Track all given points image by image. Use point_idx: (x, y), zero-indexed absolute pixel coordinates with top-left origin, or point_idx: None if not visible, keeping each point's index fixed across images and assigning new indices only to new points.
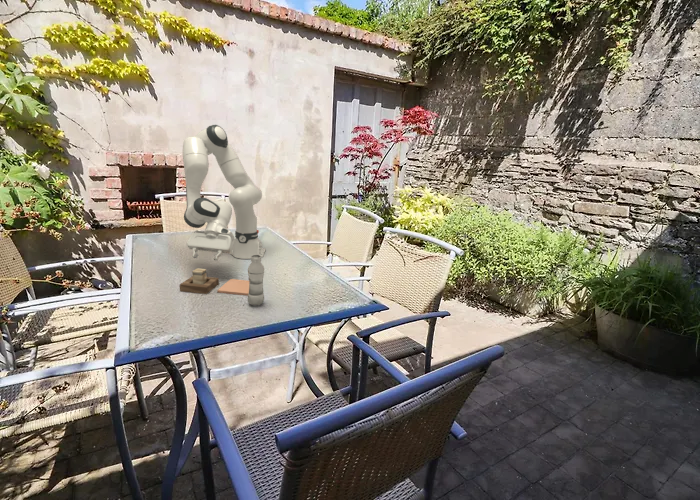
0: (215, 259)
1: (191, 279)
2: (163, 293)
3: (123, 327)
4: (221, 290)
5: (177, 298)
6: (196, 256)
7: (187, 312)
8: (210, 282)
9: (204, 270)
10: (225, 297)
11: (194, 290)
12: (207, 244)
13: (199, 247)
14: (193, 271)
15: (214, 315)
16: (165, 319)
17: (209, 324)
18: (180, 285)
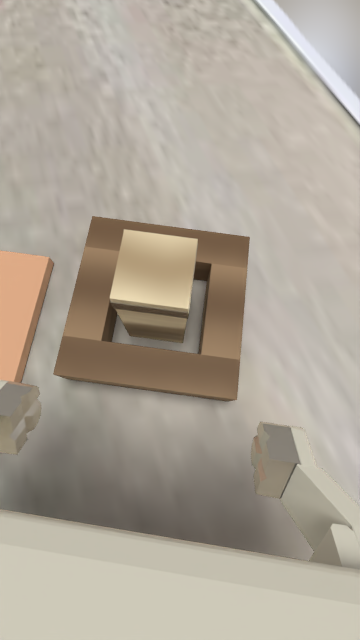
0: (12, 384)
1: (218, 321)
2: (301, 227)
3: (275, 3)
4: (25, 256)
5: (215, 185)
6: (259, 437)
7: (127, 84)
8: (88, 288)
9: (115, 271)
10: (4, 213)
11: None
12: (103, 627)
13: (281, 560)
14: (189, 238)
15: (24, 71)
16: (180, 43)
17: (30, 23)
18: (243, 238)
